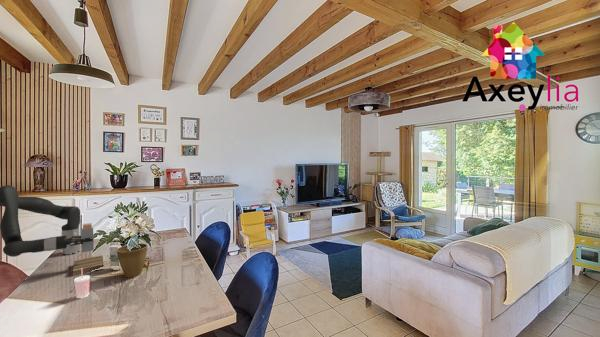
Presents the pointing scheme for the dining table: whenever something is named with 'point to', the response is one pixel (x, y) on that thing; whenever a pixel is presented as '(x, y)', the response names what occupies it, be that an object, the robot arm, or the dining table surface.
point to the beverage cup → (82, 285)
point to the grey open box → (87, 245)
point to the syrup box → (114, 255)
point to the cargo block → (87, 226)
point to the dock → (87, 264)
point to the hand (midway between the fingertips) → (92, 237)
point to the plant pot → (132, 260)
